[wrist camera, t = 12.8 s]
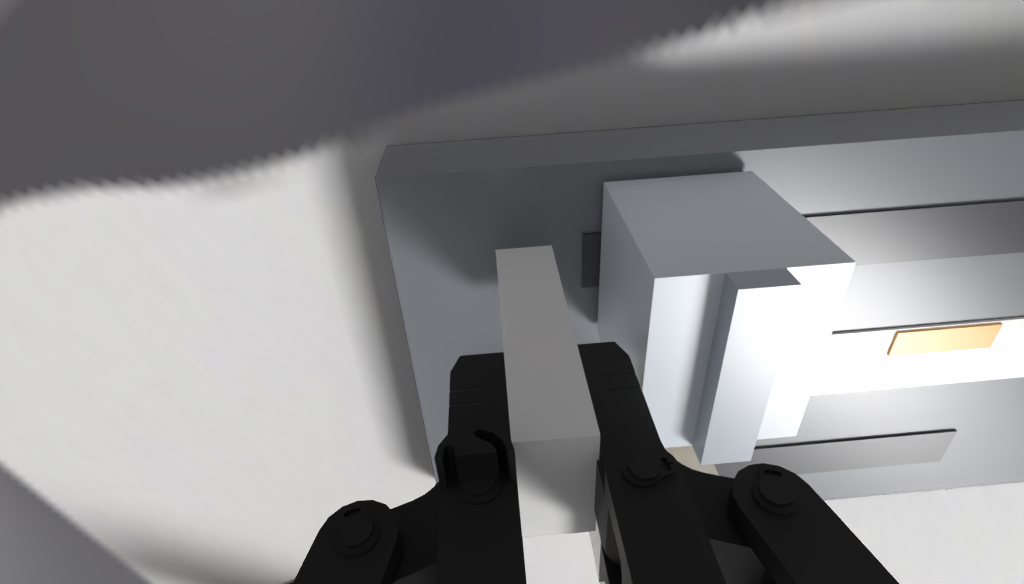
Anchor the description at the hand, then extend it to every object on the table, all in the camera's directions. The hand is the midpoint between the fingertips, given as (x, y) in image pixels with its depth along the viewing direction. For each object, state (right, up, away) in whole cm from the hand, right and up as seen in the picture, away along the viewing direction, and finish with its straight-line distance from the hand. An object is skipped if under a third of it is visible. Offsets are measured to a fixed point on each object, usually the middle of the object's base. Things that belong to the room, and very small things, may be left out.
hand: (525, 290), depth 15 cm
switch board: (+9, -1, +6) cm, 11 cm away
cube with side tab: (+4, +1, +1) cm, 4 cm away
